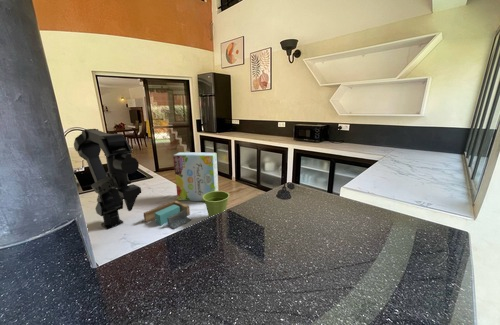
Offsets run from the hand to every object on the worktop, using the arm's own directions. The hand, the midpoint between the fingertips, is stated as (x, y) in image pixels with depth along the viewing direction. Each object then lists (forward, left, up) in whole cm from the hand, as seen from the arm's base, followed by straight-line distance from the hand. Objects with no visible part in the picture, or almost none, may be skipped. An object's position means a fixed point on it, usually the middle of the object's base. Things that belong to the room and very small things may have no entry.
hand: (124, 207), depth 81 cm
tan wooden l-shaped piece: (+3, +17, -12) cm, 21 cm away
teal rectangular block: (+2, +16, -12) cm, 21 cm away
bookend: (+10, +17, -12) cm, 23 cm away
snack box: (-4, +40, -12) cm, 42 cm away
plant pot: (+20, +30, -12) cm, 38 cm away
